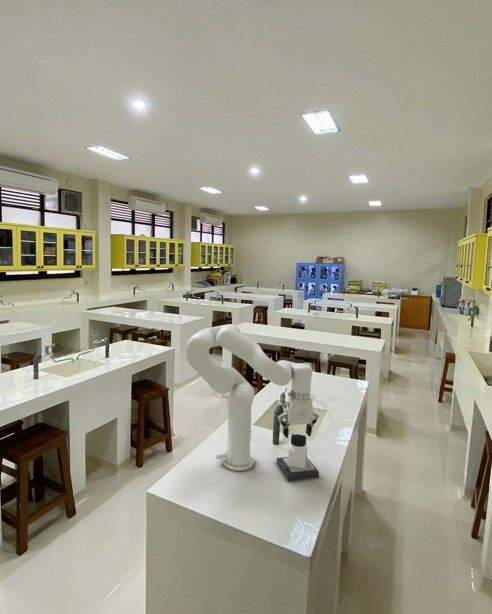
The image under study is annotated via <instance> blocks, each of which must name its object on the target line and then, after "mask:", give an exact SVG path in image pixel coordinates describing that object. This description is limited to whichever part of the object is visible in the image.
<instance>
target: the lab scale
mask: <svg viewBox="0 0 492 614" xmlns="http://www.w3.org/2000/svg"><path fill="white" fill-rule="evenodd" d="M275 464H276V465H277V467H278V468H279V470H280V472H281V473H282V475H283V476H284V478H285V479H286V481H287V482H293V481H294V482H295V481H302V480H310V479H319V476H320V471H319V470H318V468H317V467H316V466H315V465H314V464H313V463H312V461H311V460H310V459H309V458H308V457H307V461H306V469H302V468H295V467H288V456H283V457H282V456H281V457H276V461H275Z"/></svg>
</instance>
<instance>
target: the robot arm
mask: <svg viewBox="0 0 492 614" xmlns="http://www.w3.org/2000/svg"><path fill="white" fill-rule="evenodd" d="M219 346H220V347H221V348H223V349H224V350H226V351H228V352H230V353H231V354H233V355H235V356H236V357H238V358H239V359H241V360H243V361H244V362H245V363H247V364H248V365H249V366H250V368H252V369H253V370H254V371H255V372H256V373H257V374H259V375H260V376H261V377H263V378H264V379H266V380H267V381H269V382H271V383H273V384H275V385H277V386H281V387H282V386H287V385H288V384H290V382H291V386H290V387H291V388H290V392H287V397H288V400H287V404H286V408H285V412H283V413H281V414H279V415H278V416H277V419H278V421H279V423H280V424H281V426H282V434H283V436H284V437H285V439H288V438H289V433H290V428H289V427H290V425H291V426H297V425H300V426H301V425H306V426H305V434H306V435H307V436H308V437H311V436H312V432H313V427H314V425H315V424H316V423H317V422H318V419H319V417H320V414H318V413H316V412H314V407H313V405H314V404H313V399H312V398H311V392H312V391H311V390H312V378H313V367H312V366H311V364H308V363H303V362H293V361H290V360H285V359H282V360H278V361H277V362H276V361H274V360H273V359H271V357H269V356H267V355H266V353H265V352H264V351H263V349H262V347H261V346H260V345H259V344H258V343H257V342H256V341H254V340H253V339H250V338H249V337H247V336H246V335H244V334H242V333H241V330H240V328H239V327H238V326H237V325H236V324H232V323H228V324H221V325H218V326H213V327H208V328H202V329H200V330H199V331H197V332H196V333H194V334H193V335H191V336H190V338H189V339H188V340H187V343H186V345H185V350H184V351H185V352H184V354H185V357H186V361H187V362H188V364H189V365H190V366H191V368H193V369H194V370H195V372H197V373H198V374H199V376H201V378H202V379H203V380H204V381H205V382H206V383H207V384H208V385H209V387H211V388H212V390H213V391H215V392H216V393H217V394H218V395H225V394H228V393H229V394H230V395H229V397H228V400H227V408H226V409H227V449H226V450H225V452H223V453H218V454H215V459H216V460H219V462H223V465H224V466H225V467H226V468H227V469H229V470H231V471H237V472H241V471H246V470H249V469H251V468H252V467H253V466H254V463H255V461H254V458H253V457H252V456H251V440H252V439H251V437H252V436H251V435H252V406H253V402H254V399H255V394H256V393H255V390H254V387H253V386H252V385H251V384H250V382H249V381H247V380H246V378H245V377H244V376H243V375H242V374H241V373H240V372H239V371H238V370H237V369H236V368H235V367H233V366H231V365H229V364H224V365H220V364H219V363H218V361H217V360H215V358H214V357H212V356H210V355H209V354H208V350H210V349H211V348H214V347H215V348H216V347H219ZM284 419H285V420H284Z"/></svg>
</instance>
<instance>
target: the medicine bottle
mask: <svg viewBox="0 0 492 614" xmlns="http://www.w3.org/2000/svg"><path fill="white" fill-rule="evenodd" d="M287 457H288V467H295V468H302V469H306V461H307V458H308V444H307V436H306V435H305V434H303V433H299V432H295V433H293V434H291V436H290V441H289V445H288V455H287Z"/></svg>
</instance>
